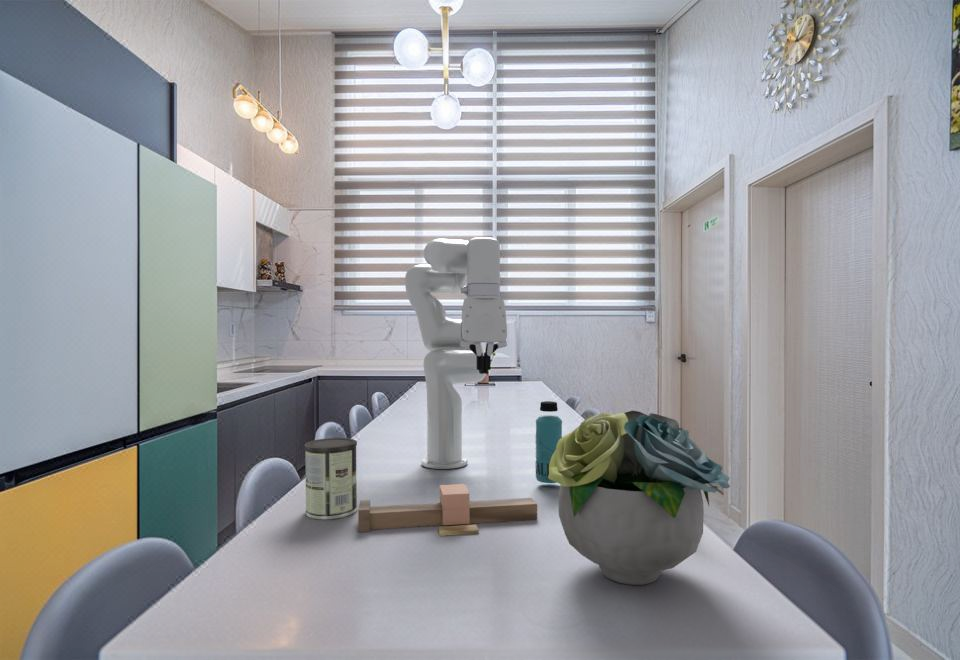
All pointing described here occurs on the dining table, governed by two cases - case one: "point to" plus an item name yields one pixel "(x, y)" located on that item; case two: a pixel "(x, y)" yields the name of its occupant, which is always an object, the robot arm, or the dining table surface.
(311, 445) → the coffee can
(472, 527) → the beam
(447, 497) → the block
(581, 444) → the flower arrangement
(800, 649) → the dining table surface
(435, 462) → the robot arm
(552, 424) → the beverage bottle
